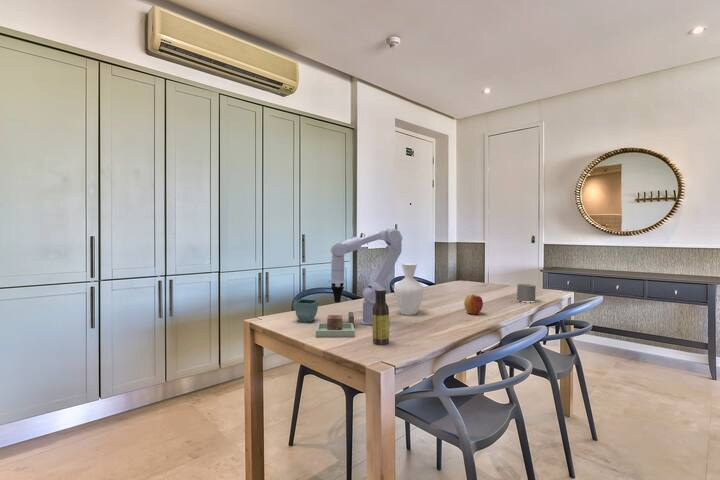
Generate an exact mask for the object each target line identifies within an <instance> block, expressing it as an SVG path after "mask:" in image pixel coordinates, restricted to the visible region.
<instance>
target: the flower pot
mask: <svg viewBox="0 0 720 480" xmlns="http://www.w3.org/2000/svg"><path fill="white" fill-rule="evenodd" d="M319 301H320V300H318V299H304V298H303V299H299V300H296V301H295V302H294V308H295V310H294V312H295V315H296V317H297V319H298V321H299V322H304V323H305V322H306V323H310V322H311V323H312V321H314V319H315V317H316V315H317V313H318V308H319V303H320V302H319Z"/></svg>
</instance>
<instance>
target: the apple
mask: <svg viewBox="0 0 720 480" xmlns="http://www.w3.org/2000/svg"><path fill="white" fill-rule="evenodd" d="M483 301H484V300H483V298H482V297H481V296H480V295H478V294H471V295H470V294H469V295H467V296H466V297H465V299H464V301H463V302H464V303H463V305H464V309H465V311H466V313H467V314H469V313H470V314H469V315H478V314H480V313H481V311H482V308H483V305H484V302H483Z"/></svg>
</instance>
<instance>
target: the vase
mask: <svg viewBox="0 0 720 480" xmlns="http://www.w3.org/2000/svg"><path fill="white" fill-rule="evenodd" d="M417 266H418V264H417V263H410V262H409V263H406V262H405V263H401V267H402V271H403V274H404V278H403V279H401V280H400V281H399V282H397V283H396V284H395V285H394V297H395V301H396V305H397V307H398V310H399V313H400V314H401V315H403V314H405V315H404V316H413V315H412V314H415V315H417V314H418V311H419V308H420V307H421V304H422V303H421V302H422V300H423V295H424V285H422V284H421V282H419V281H418V280H417V279H415V278H414V275H415V273H416V269H417ZM416 313H417V314H416Z"/></svg>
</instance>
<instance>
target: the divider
mask: <svg viewBox="0 0 720 480" xmlns="http://www.w3.org/2000/svg"><path fill="white" fill-rule="evenodd" d="M347 323H353V326H354V327H355V315H354V312H353V311H348V322H347Z"/></svg>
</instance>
